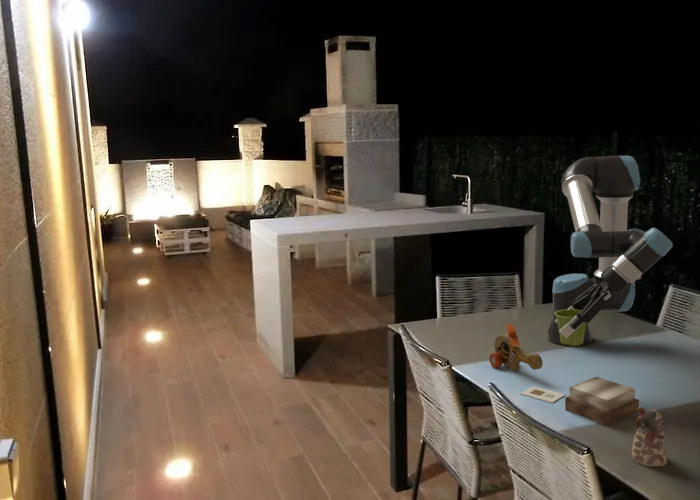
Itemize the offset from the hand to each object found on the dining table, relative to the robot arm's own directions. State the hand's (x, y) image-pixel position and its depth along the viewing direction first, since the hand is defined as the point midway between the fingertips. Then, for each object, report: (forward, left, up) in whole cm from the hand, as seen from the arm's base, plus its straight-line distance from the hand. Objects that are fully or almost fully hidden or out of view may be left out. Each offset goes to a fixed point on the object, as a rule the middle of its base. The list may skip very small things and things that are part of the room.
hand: (560, 329), depth 183 cm
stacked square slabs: (+17, -5, -18) cm, 25 cm away
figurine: (+39, -19, -18) cm, 47 cm away
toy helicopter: (-18, +1, -18) cm, 25 cm away
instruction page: (0, -8, -18) cm, 19 cm away
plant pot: (+2, +2, -4) cm, 5 cm away
